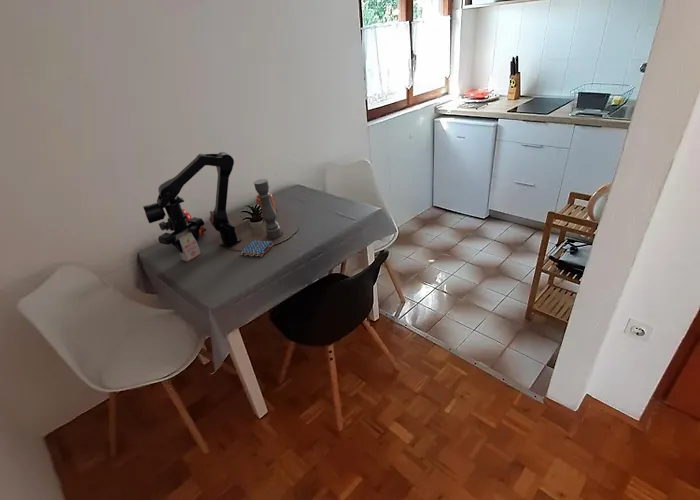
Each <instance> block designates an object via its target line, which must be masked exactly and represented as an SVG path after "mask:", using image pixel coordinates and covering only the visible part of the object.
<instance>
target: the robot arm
mask: <svg viewBox="0 0 700 500" xmlns="http://www.w3.org/2000/svg"><path fill="white" fill-rule="evenodd" d="M234 165H235V160H234V158H233V156H231V154H229V153H227V152H225V151H219V152H218V153H199V154H197V155H196V157H195V158H194V159H192V161H190V162H189V163H188V164H187V165H186V166H185V167H184V168H183V169H182V170H181V171H179V173H177V174H176V176H174V177H172V178H170V179H168V180H166V181H164V182H163V183H161V184H160V185H159V186H158V188H157V191H158V196H157V199H156V202H155V203H151V204H147V205H143V210H144V212H145V213H144V214H145V217H146V219H147V222H148V224H152V223H155V222H158V226H159V229H160V230H161V231H165V230H166V231H167V232H165V233H162V234H161V235H158V239H157V240H158V243H159V244H161V245H162V244H163V245H166V246H170V245H172V246H173V247H174V248H175V249H176V250H177V251H178V252H179V254H180V253H183V251H182V247H181V243H180V240H178V239H179V238H177V236H179V235H181V233H183V232H185V231H186V230H188V231H189V232H190V233H192V235H193V237H194V238H195V240H196V242H197V243H198V238H199V236H198V234H199V230H200V229H201V226H203V225H204V226H205V221H204V219H203V218H201V217H196V216H194V217H191V219H190V220H188V222H186V219H185V218H187V216H186V215H184V213H183V211H182V209H183V208H182V205H181V204H182V203H184V202H185V200H184V198H183V197H181V196H179V194H180V192H181V190H183V189H182V188H184V186H185V185H186V184H187V183H188V182H189V181H190V180H191V179H192V178H193V177H195V176H196V175H197V174H198V173H199V172H200V171H201V170H202V169H203V168H205V166H211V167H216V172H217V180H216V181H217V182H216V192H215V193H216V195H215V205H214V209H213V210H210V211H209V217H208V220H209V221H210V224H211V225H212V227H213V228H214V229H215V231H216V232H219V235H220V239H221V241H222V242H221V243H220V246H223V247H228V248H232V247H233V246H235V245H236V244H238V243H239V242H241V241H242V239H241V238H238V236H237V233H236V227H235V226H234V224H233V223H232V222H231V221H230V220H229V219H228V214H227V213H228V212H227V204H228V203H227V202H228V191H229V181H230V180H229V179H230V176H231V174H232V172H233V168H234ZM165 211H166V212H165ZM166 216H167V221H164V220H165V218H166ZM161 220H163V221H161ZM159 221H160V222H159ZM187 223H188V224H187ZM169 230H170V232H171V233H170V232H168V231H169Z"/></svg>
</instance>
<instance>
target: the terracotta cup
mask: <svg viewBox="0 0 700 500" xmlns="http://www.w3.org/2000/svg"><path fill="white" fill-rule="evenodd" d="M268 193H270V195H271V196H270V201H271V204H272V206H273V208H274V210H275V212H276V213H277V208H276V204H275V201H274V197H273V193H272V192H268ZM258 195H259V194H258V193H257V194H256V195H255V196H254V199H255V203H256V206H257V205H258V204H259V205H260V206H261V209H262V203H261V199H259V198H258Z"/></svg>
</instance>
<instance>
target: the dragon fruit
mask: <svg viewBox="0 0 700 500" xmlns="http://www.w3.org/2000/svg"><path fill="white" fill-rule="evenodd" d="M187 224H188V223H187ZM206 231H207V227H205V224H204V225H203V226H201V229H200V230H199V234H198V237H202V236H203V234H204V233H205V232H206ZM189 233H190V232H189Z"/></svg>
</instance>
